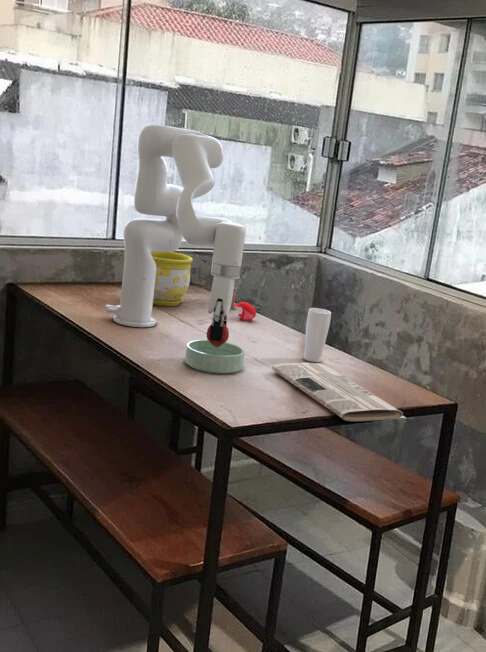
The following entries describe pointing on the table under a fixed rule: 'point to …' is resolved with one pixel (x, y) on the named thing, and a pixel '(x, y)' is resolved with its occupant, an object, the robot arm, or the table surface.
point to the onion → (224, 336)
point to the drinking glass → (316, 333)
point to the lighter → (233, 298)
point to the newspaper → (337, 392)
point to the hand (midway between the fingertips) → (217, 336)
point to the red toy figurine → (246, 311)
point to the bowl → (214, 357)
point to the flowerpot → (171, 277)
